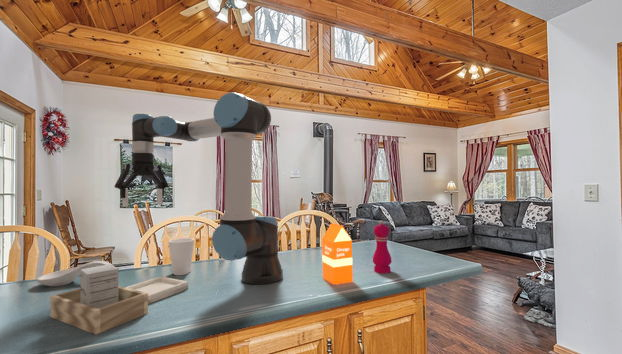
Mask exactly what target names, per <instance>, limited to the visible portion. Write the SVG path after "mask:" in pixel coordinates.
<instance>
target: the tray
mask: <svg viewBox="0 0 622 354" xmlns="http://www.w3.org/2000/svg"><path fill="white" fill-rule="evenodd" d="M125 288H129V289H133V290H137V291H141V292H145V293H148V305H149V304H153V303H154V302H157V301H160V300H162V299H165V298H168V297H170V296H173V295H176V294H178V293H181V292H183V291H186V290H188V289H189V281H187V280H182V279H177V278H171V277H166V276H161V275H160V276H157V277H154V278H151V279H148V280H145V281H142V282H138V283H135V284H131V285H129V286H126V287H125Z"/></svg>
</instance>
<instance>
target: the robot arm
mask: <svg viewBox="0 0 622 354" xmlns="http://www.w3.org/2000/svg"><path fill="white" fill-rule="evenodd" d="M271 123H272V115H271V112H270V109H269V108H268V107H267V106H266V105H265V104H264V103H262V102H261V101H259V100H255V99H252V98H250V97H248V96H246V95H244V94H242V93H237V92H228V93H227V92H226V93H224V94H223V95H222V96H220V97H219V99H218V100H217V101H216V103H215V105H214V107H213V117H211V118H205V119H199V120H193V121H188V122H187V121H186V122H184V121H180V120H176V119H174V118H173V117H172V116H170V115H161V116H160V115H159V116H155V117H154V116H153V115H151V114H148V113H135V114H133V115H132V121H131V132H132V134H131V135H132V144H131V146H132V147H131V148H132V150H131V151H132V152H133V153H132V155H131V157H132V160H131V161H132V164H130V163H125V164H124V165H123V167H122V168H123V169H122V172H121V174H120V175H119V176H118V179H117V181H116V183H115V184H114V188H116V189H118V190H119V193H120V194H119V197H120V199H122V207H123V208H125V207H126V208H128V207H129V189H127V188H128V187H129V186H130V184H131V183H132V182H133V181H134V180H135V179H136V178H137V177H148V178H150V180H151V181H152V182H153V183H154V184H155V185H156V186H157V188H156V205H163V197H164V196H165V189H166V188H168V187H169V186H170V185H169V184H168V181H167V179H166V177H165V175H164V173H163V171H162V165H160V164H159V165H154V159H155V158H154V152H155V151H154V149H155V147H154V146H155V145H154V144H155V143H154V138H159V137H160V138H168V139H174V140H182V141H187V142H197V141H198V140H200V139H201V140H202V139H206V138H214V137H222V138H223V139H224V140H225V160H224V161H225V163H224V165H225V172H224V173H225V174H224V175H225V176H224V178H225V180H224V185H225V186H224V187H225V188H224V213H223V214H222V215H221V216H220V217H219V226H217V227H216V228H215V230H214V231H213V233H212V237H211V243H212V247H213V249H214V251H215V253H217V255H218V256H219V257H220V258H221V259H223V260H225V261H233V262H234V261H236V260H241V259H243V258H245V262H244V264H243V268H242V271H241V281H242V282H244V283H245V284H249V285H267V284H272V283H276V282H279V281H281V280H282V279H283V278H284V275H283V274H284V273H283V271H284V270H283V268H282V264H281V262H280V259H279V254H278V250H279V247H278V246H279V243H278V242H279V240H278V238H279V237H278V236H279V232H278V231H279V230H278V228H279V225H278V219H277V217H275V216H263V215H262V216H260V215H254V213H253V212H252V193H253V191H252V187H253V186H252V185H253V184H252V178H253V177H252V175H253V169H252V168H253V160H252V159H253V140H255V139H256V138H257V135H260V134H263V133H264V132H267V130H268V129H269V128H270V125H271ZM130 170H132V172H131V174H130V175H129V176H128V174H129V172H130ZM154 171H155V172H154ZM155 173H156V174H155ZM156 175H157V176H156ZM127 176H128V177H127Z"/></svg>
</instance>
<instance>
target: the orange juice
mask: <svg viewBox="0 0 622 354" xmlns="http://www.w3.org/2000/svg"><path fill="white" fill-rule="evenodd" d="M321 241H322V242H321V243H322V244H321V245H322V247H321V248H322V255H321V257H322V258H321V259H322V278H323V279H324V280H325V281H327V282H328V283H330V284H332V285H333V284H334V285H335V284H336V285H341V284H340V283H342V284H347V282H348V283H353V282H354V281H353V279H354V278H353V275H354V273H353V265H354V264H353V240H352V238H351V237H350V235H349V234H348V232H347V230H346V229H345V228H344V226H343V225H341V224H337V223H333V222H331V223H330V225H329V226H328V228H327V230H326V232H325V234H324V236H323V237H322V239H321ZM336 285H335V286H336Z"/></svg>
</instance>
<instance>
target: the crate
mask: <svg viewBox="0 0 622 354" xmlns="http://www.w3.org/2000/svg"><path fill="white" fill-rule="evenodd" d="M49 304H50V309H49V310H50V312H49V313H50V315H49V316H50V318H52V319H55V320H56V321H60V322H62V323H65V324H68V325H69V326H73V327H74V328H78V329H80V330H83V331H85V332H87V333H90V334H92V333H93V335H98V334H101V333H103V332H106V331H109V330H110V329H113V328H115V327H118V326H120V325H123V324H125V323H128V322H130V321H132V320H135V319H138V318H140V317H142V316H145V315H147V314H148V313H149V303H148V293H145V292H141V291H137V290H133V289H129V288H125V287H124V286H121V285H118V302H116V303H114V304H111V305H108V306H105V307H102V308H99V309H97V308H94V307H91V306H88V305H84V304H81V287H79V288H76V289H72V290H69V291H65V292H62V293H58V294H53V295H50V303H49Z"/></svg>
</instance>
